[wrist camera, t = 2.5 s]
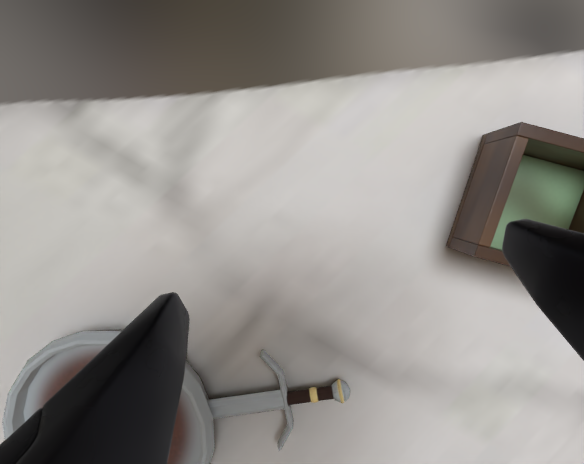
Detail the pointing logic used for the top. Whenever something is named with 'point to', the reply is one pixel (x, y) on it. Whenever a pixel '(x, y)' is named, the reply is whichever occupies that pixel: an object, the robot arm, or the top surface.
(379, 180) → the top surface
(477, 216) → the divided wooden tray
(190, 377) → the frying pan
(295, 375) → the top surface
